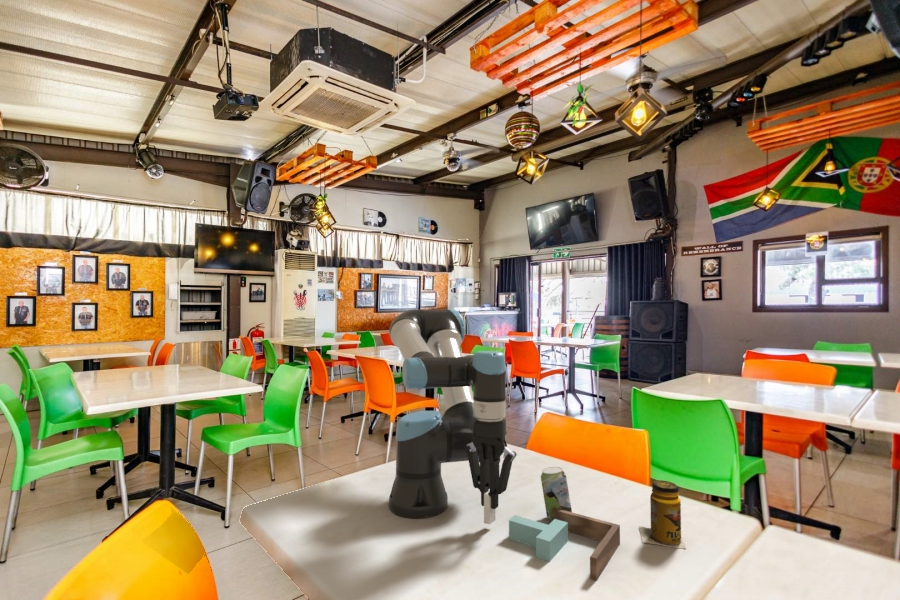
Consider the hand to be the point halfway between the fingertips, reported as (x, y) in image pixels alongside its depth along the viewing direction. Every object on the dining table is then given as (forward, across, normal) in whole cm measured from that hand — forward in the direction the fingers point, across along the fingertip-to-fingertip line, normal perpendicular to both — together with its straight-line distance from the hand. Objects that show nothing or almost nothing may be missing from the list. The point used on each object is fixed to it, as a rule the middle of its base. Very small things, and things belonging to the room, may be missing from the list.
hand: (489, 521), depth 103 cm
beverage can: (+2, +11, +13) cm, 17 cm away
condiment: (+2, +33, +18) cm, 38 cm away
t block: (+2, +12, 0) cm, 12 cm away
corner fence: (+2, +19, +2) cm, 19 cm away
